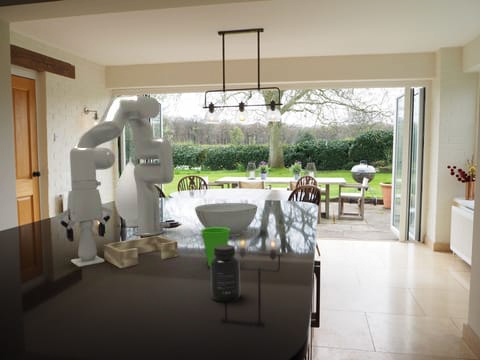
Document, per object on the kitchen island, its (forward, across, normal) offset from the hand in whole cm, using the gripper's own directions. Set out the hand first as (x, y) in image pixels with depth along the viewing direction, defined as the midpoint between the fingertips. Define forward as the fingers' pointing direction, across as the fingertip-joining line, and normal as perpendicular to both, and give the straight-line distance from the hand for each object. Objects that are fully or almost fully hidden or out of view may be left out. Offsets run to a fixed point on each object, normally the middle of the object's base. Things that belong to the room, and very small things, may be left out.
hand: (86, 238), depth 122 cm
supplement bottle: (+8, -14, +56) cm, 58 cm away
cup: (+8, -28, +33) cm, 44 cm away
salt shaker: (+7, 0, 0) cm, 7 cm away
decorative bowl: (+8, -59, -2) cm, 59 cm away
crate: (+8, -15, +8) cm, 19 cm away
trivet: (+8, 0, 0) cm, 8 cm away
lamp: (+8, -39, -54) cm, 67 cm away
